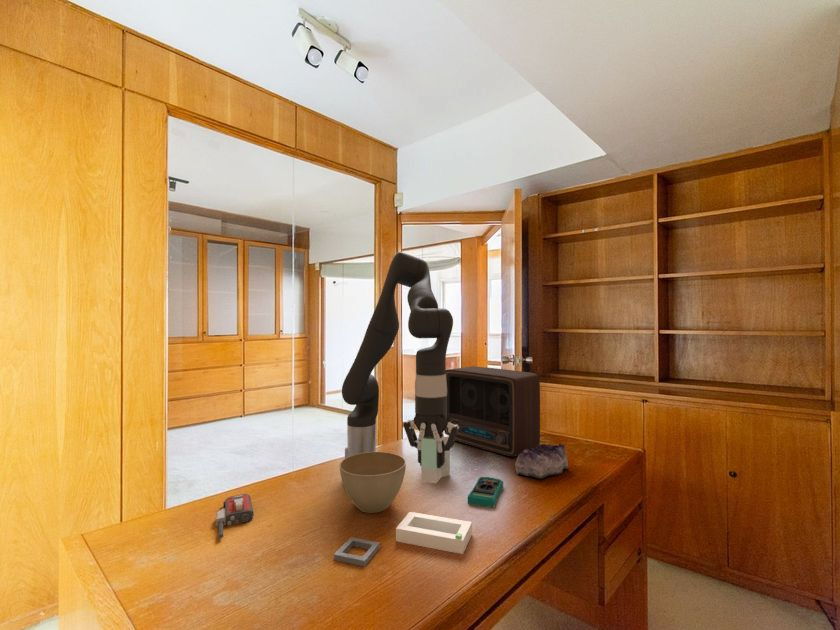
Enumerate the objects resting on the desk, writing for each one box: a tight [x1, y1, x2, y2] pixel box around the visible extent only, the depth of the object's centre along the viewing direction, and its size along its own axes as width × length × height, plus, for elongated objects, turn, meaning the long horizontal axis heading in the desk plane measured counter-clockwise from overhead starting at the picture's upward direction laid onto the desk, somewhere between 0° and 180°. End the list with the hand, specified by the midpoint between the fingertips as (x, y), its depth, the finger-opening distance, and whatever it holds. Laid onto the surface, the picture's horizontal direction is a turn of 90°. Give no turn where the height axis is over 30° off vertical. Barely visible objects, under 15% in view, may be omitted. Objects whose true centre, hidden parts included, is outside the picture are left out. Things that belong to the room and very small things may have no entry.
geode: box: [514, 443, 569, 480], centre depth 141 cm, size 20×12×10 cm, turn 124°
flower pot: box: [339, 451, 407, 514], centre depth 116 cm, size 18×18×12 cm
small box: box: [441, 432, 451, 478], centre depth 140 cm, size 8×6×13 cm
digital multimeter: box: [467, 476, 504, 508], centre depth 123 cm, size 8×15×3 cm, turn 159°
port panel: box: [395, 511, 473, 555], centre depth 100 cm, size 16×9×4 cm, turn 70°
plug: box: [420, 436, 442, 484], centre depth 99 cm, size 4×4×10 cm
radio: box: [444, 365, 541, 458], centre depth 169 cm, size 36×18×30 cm, turn 43°
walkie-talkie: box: [215, 493, 254, 539], centre depth 109 cm, size 9×4×20 cm
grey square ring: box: [333, 536, 381, 567], centre depth 93 cm, size 7×7×1 cm
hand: (431, 465), depth 99 cm, fingers closed on plug, 3 cm apart
